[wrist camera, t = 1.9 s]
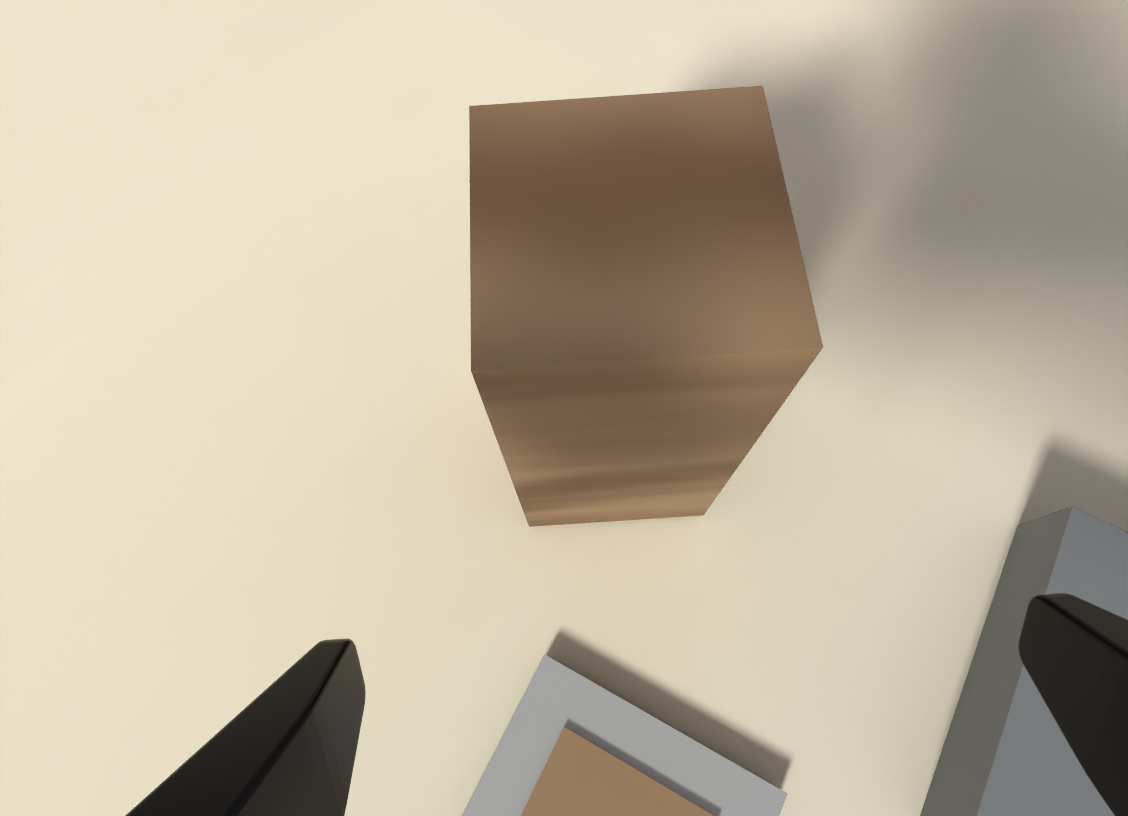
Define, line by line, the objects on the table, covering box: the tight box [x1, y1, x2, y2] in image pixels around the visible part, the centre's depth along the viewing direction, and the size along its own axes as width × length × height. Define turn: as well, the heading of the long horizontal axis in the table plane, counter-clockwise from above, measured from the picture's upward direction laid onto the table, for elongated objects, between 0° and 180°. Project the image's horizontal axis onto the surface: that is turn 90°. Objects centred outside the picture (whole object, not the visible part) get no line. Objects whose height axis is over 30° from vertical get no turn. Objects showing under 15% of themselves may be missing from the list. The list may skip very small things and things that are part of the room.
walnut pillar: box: [469, 86, 823, 526], centre depth 18 cm, size 6×6×12 cm
